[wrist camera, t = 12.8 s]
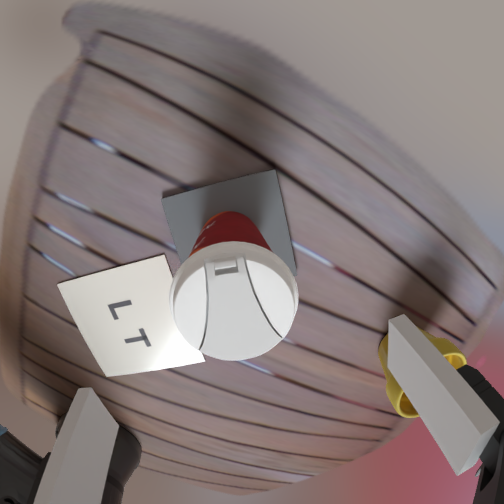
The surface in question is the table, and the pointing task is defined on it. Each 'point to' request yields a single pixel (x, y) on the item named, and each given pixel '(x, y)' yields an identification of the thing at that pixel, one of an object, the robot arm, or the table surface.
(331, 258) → the table surface
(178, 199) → the slate coaster
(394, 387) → the plant pot
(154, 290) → the tile
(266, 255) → the paper cup
